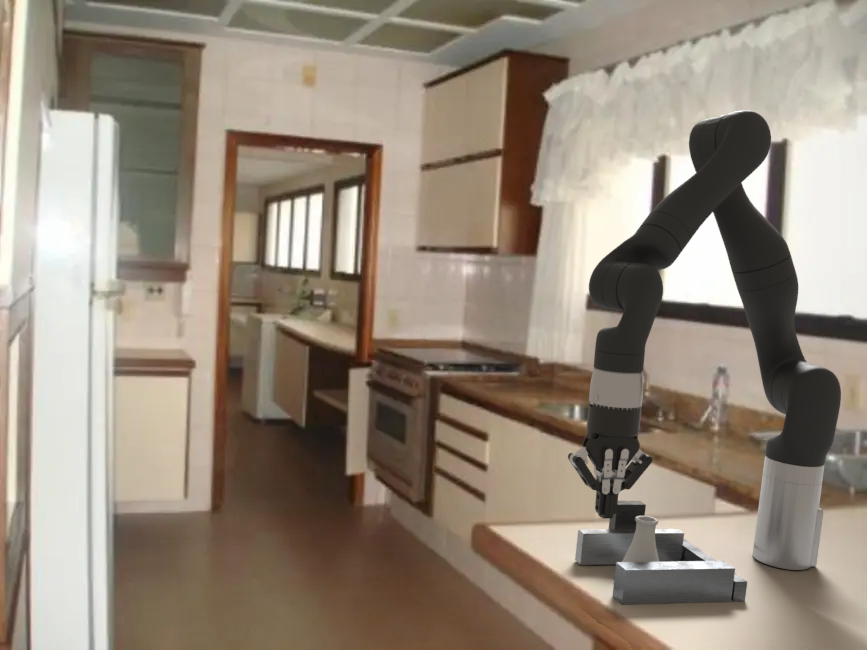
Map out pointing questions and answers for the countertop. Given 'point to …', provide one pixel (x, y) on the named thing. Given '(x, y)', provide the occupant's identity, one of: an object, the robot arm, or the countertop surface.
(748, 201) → the robot arm
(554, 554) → the countertop surface
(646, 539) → the flask
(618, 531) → the vise jaw sliding
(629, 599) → the vise fixed
